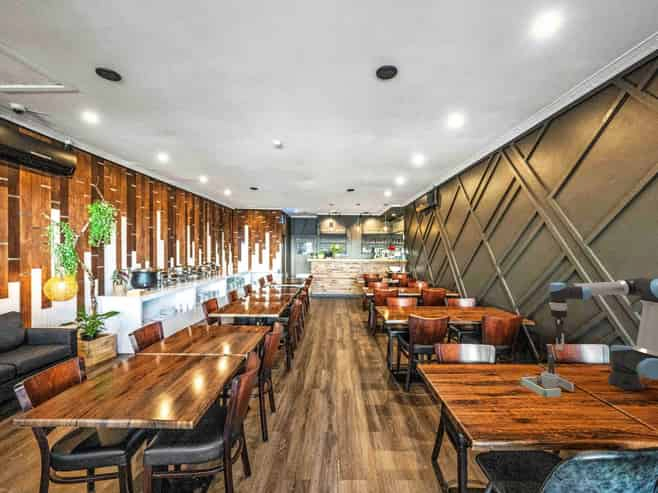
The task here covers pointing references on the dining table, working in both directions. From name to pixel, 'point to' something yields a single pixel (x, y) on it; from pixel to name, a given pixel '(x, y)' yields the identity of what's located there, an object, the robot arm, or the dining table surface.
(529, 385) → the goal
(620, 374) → the robot arm
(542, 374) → the cup
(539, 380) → the rail
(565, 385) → the kicker
